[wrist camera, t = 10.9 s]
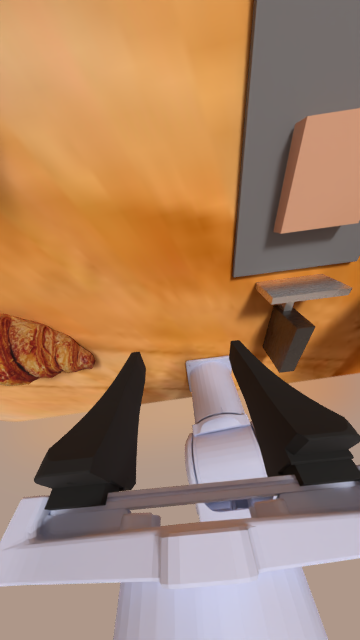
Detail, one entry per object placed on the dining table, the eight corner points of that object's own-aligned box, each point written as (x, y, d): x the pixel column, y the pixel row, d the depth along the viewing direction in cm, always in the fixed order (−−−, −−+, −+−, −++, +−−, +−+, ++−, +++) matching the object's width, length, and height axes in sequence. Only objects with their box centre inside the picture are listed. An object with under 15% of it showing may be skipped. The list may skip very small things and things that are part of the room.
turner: (293, 343, 26) (315, 368, 22) (244, 348, 27) (257, 374, 23) (322, 273, 20) (362, 292, 15) (256, 282, 20) (278, 302, 16)
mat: (352, 259, 19) (356, 261, 18) (232, 275, 19) (233, 277, 19) (538, -106, 8) (557, -123, 8) (258, -54, 8) (262, -67, 8)
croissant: (-38, 319, 25) (-84, 373, 21) (-126, 278, 16) (-230, 356, 12) (106, 347, 29) (89, 396, 25) (98, 327, 20) (70, 395, 17)
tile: (358, 223, 15) (415, 99, 10) (280, 233, 15) (307, 116, 11) (343, 221, 16) (390, 110, 12) (272, 231, 16) (293, 124, 12)
